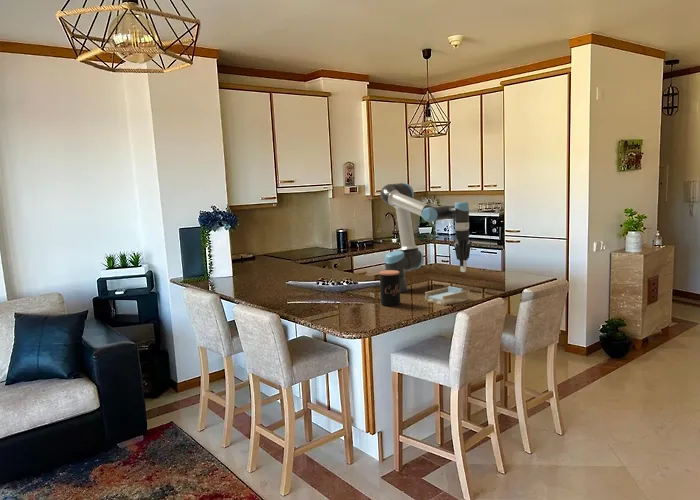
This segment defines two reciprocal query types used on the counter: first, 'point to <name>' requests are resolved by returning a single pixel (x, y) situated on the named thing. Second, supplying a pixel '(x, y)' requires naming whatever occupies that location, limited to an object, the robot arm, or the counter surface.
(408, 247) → the robot arm
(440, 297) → the cover plate
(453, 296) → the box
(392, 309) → the counter surface
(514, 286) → the counter surface
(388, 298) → the coffee jar
